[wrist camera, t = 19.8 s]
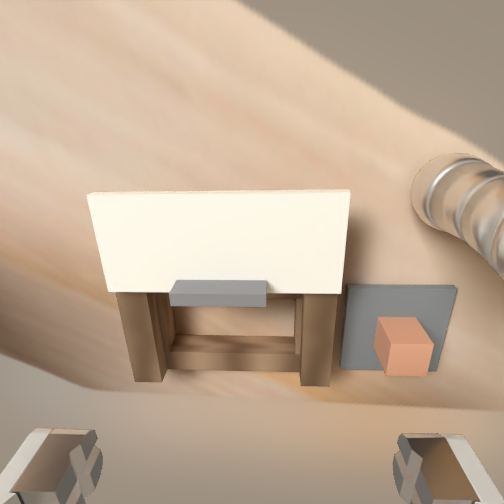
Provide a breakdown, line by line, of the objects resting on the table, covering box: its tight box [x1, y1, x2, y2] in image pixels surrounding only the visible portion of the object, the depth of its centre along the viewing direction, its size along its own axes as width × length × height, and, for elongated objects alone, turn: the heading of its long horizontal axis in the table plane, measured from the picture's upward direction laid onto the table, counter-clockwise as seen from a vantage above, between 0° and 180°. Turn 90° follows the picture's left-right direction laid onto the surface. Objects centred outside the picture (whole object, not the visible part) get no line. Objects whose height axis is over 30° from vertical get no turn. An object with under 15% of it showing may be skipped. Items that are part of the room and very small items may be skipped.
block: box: [374, 317, 434, 376], centre depth 35 cm, size 4×4×4 cm
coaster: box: [339, 284, 457, 371], centre depth 37 cm, size 11×11×1 cm
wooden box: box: [116, 292, 338, 387], centre depth 35 cm, size 21×16×5 cm
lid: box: [87, 189, 351, 307], centre depth 28 cm, size 21×9×3 cm, turn 92°
